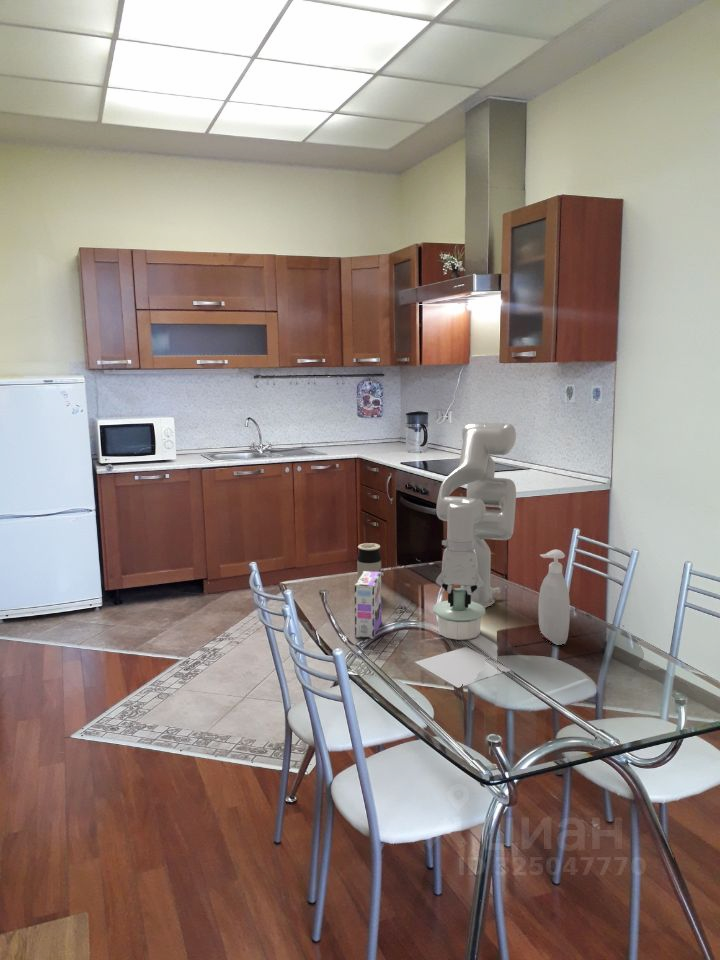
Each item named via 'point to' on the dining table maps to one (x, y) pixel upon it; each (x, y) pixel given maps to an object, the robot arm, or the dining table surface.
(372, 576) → the candy box
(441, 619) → the bowl
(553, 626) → the soap bottle
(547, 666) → the dining table surface
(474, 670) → the mat
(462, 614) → the lid
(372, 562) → the travel mug
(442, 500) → the robot arm
